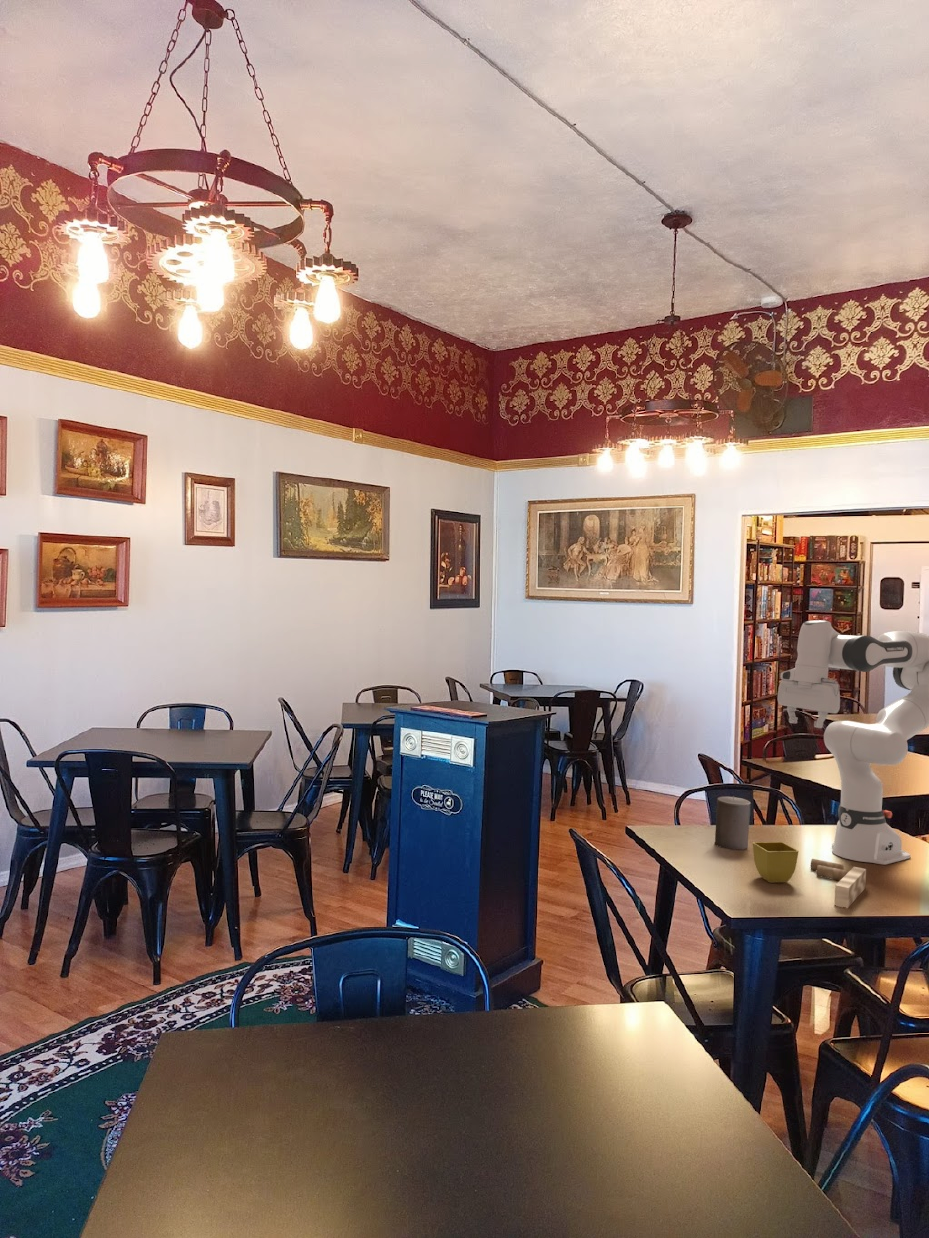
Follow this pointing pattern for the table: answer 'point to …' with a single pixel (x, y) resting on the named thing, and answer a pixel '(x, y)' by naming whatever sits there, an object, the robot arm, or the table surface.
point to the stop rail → (850, 887)
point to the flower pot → (775, 860)
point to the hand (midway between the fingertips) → (805, 725)
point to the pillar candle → (732, 823)
